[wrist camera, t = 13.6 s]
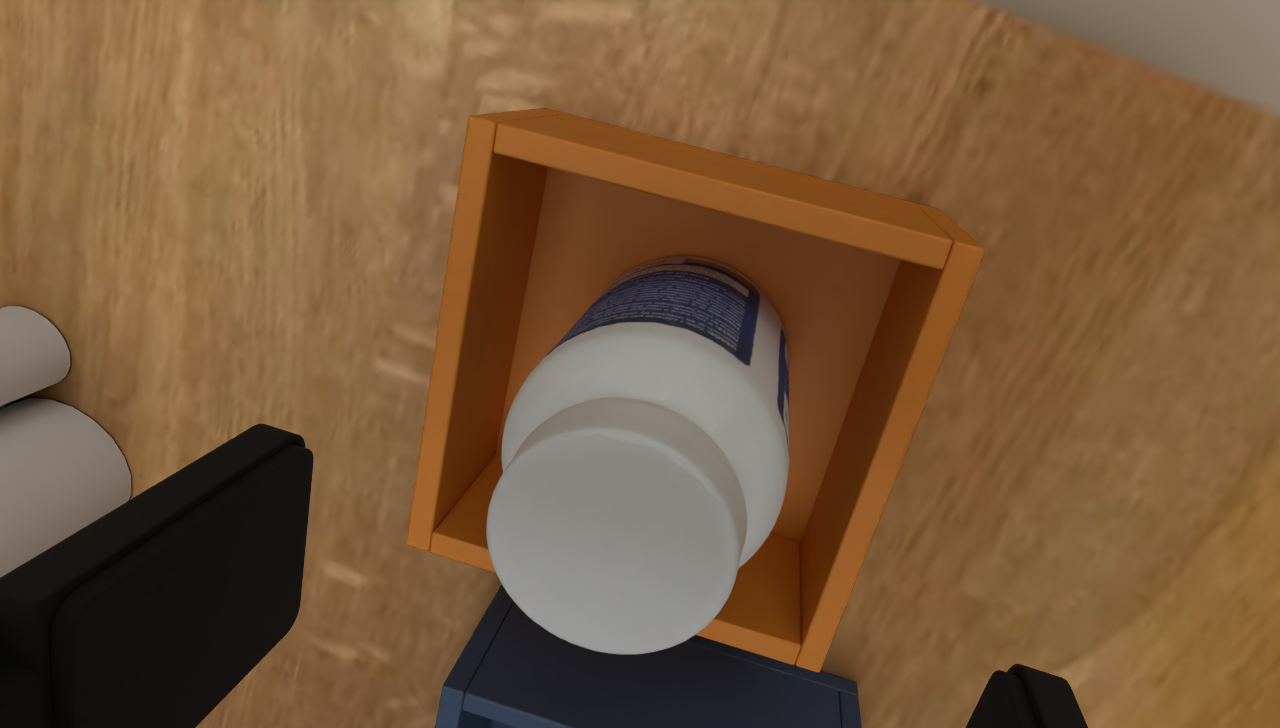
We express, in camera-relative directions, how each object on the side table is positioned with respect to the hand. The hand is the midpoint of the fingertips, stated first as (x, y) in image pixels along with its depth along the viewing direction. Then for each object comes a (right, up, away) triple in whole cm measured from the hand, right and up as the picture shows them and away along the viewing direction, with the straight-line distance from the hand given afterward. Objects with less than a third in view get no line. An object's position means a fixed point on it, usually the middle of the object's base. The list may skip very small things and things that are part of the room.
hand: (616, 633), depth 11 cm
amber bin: (+2, +4, +11) cm, 12 cm away
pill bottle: (+2, +4, +11) cm, 12 cm away
